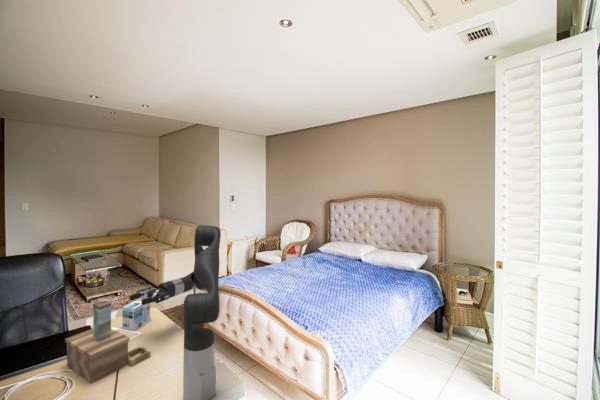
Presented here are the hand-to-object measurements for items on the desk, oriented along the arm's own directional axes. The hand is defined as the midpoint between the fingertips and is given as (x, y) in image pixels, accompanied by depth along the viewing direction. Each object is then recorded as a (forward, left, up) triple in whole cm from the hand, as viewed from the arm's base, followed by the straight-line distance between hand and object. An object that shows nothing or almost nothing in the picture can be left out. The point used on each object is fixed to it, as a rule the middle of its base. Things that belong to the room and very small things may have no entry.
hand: (135, 300), depth 114 cm
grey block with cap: (0, +12, -10) cm, 16 cm away
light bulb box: (+19, -12, -21) cm, 31 cm away
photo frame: (+16, +1, -21) cm, 27 cm away
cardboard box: (0, +10, -20) cm, 23 cm away
